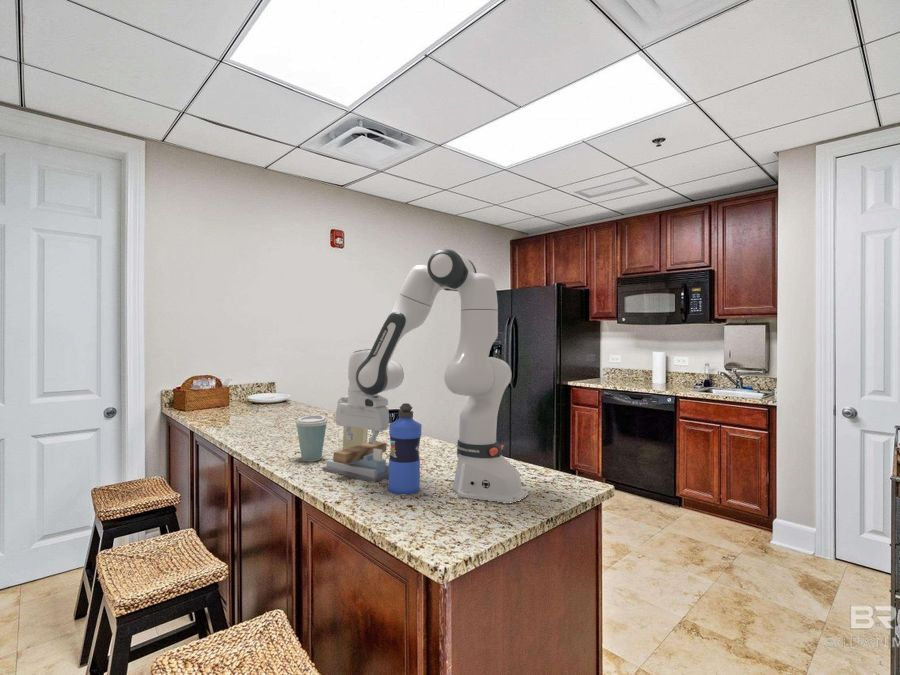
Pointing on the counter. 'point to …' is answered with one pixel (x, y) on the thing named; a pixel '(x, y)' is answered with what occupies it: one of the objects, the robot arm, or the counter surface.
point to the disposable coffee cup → (311, 436)
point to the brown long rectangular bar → (357, 452)
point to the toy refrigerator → (355, 437)
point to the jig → (356, 471)
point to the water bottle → (404, 453)
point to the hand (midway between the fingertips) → (361, 441)
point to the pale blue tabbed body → (372, 461)
